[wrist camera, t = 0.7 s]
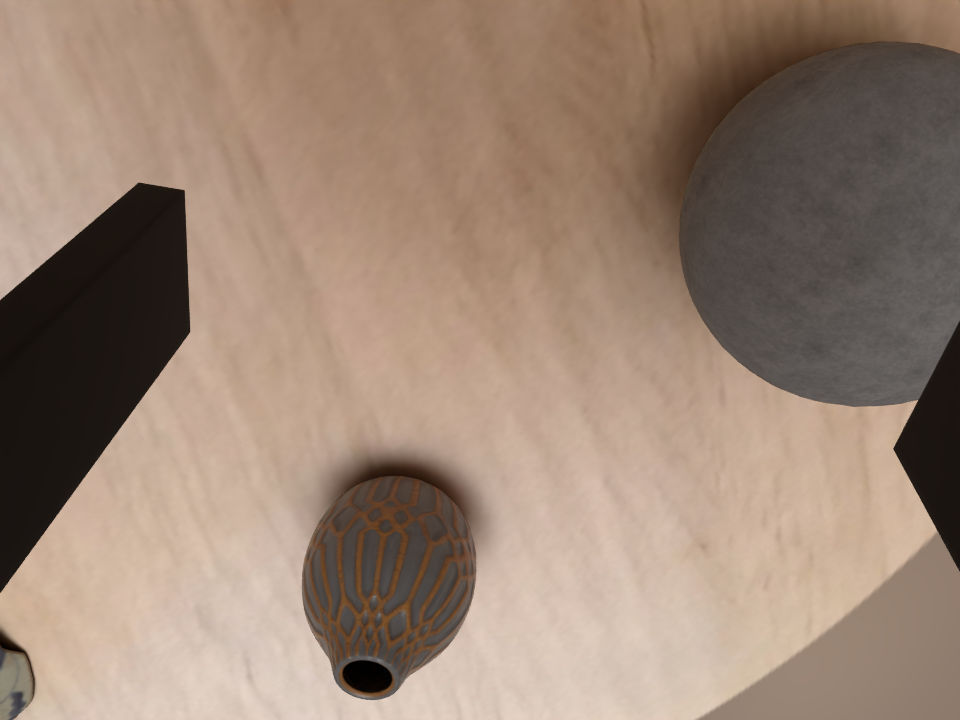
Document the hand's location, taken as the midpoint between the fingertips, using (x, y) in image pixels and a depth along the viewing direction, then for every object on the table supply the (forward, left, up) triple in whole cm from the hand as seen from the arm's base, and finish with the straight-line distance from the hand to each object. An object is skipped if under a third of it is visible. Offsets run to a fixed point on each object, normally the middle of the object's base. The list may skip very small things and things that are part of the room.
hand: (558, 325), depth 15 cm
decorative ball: (0, +9, -16) cm, 18 cm away
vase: (+19, -1, -16) cm, 25 cm away
